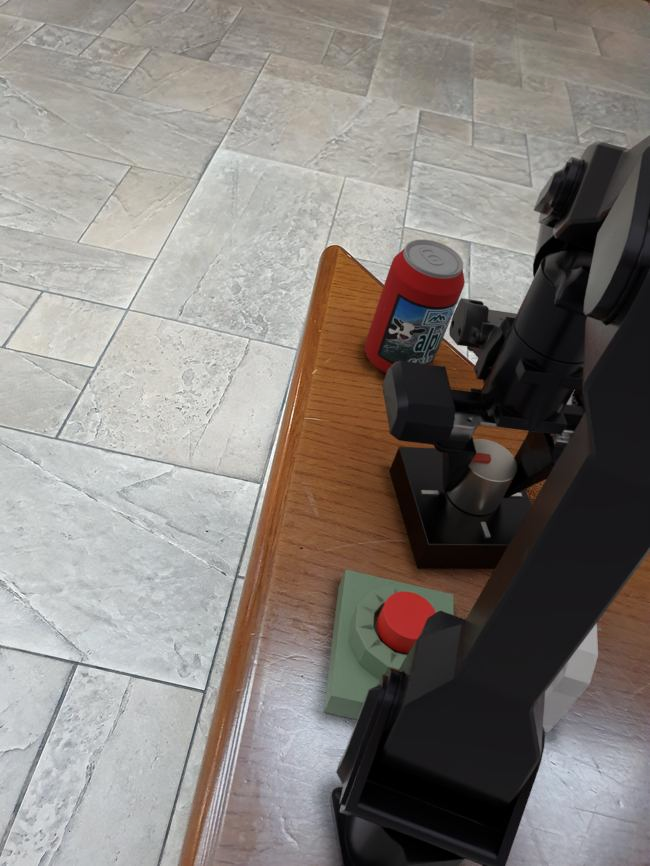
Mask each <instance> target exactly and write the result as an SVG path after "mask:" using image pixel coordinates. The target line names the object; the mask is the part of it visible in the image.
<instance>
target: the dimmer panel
mask: <svg viewBox="0 0 650 866" xmlns="http://www.w3.org/2000/svg"><path fill="white" fill-rule="evenodd" d="M388 472H389V476H390V479H391V481H392V483H391V484H392V486H393V490H394V493H395V497H396V499H397V503H398V507H399V510H400V514H401V518H402V522H403V524H404V528H405V531H406V534H407V539H408V542H409V547H410V549H411V552H412V556H413V560H414V563H415V566H416V569H495V568H496V566H497V564H498V563H499V561H500V559H501V557H502V556H503V554H504V552H505V550H506V549H507V547H508V545H509V543H510V542H511V540H512V538H513V537H514V535H515V533H516V531H517V530H518V528H519V526H520V524H521V523H522V521H523V519H524V517H525V516H526V514H527V512H528V511H529V509H530V507H531V505H532V504H533V502H532V501H531V499H530V497H529V494H528V492H527V488H526V489H524V490H522V491H520V492H518V493H516V494H514V495H512V496H510V497H508V498H502V500H501V502H500V504H499V506H498V507H497V509H496V510H495V511H494V512H492V513H490V514H487V515H474V514H470V513H467V512H465V511H463V510H461V509H460V508H458V507H457V506H456V505H455V504H454V503H453V502H452V501H451V500H450V498H449V497H448V494H447V492H446V491H444V487H443V453H441V452H439V451H437V450H436V449H435V447H415V446H414V447H413V446H399V447H398V448H397V450H396V453H395V455H394V458H393V460H392V463H391V466H390V468H389V470H388Z"/></svg>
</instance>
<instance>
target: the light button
mask: <svg viewBox="0 0 650 866" xmlns="http://www.w3.org/2000/svg"><path fill="white" fill-rule="evenodd" d="M435 613H436V612H435V610H434V608H433V607H432V605H431V604H430V603H429V602H428V601H427V600H426V599H425V598H423V597H422V596H420V595H418V594H415V593H412V592H398V593H395V594H393V595H391V596H390V597H389V598H388V599H387V600H386V602H385V604H384V606H383V608H382V610H381V612H380V614H379V616H378V619H377V631H378V634H379V636H380V638H381V639H382V640H383V642H384V643H385V644H386V645H387V646H389V647H390V648H391V649H393V650H395V651H398V652H401V653H409V651H410V650H411V648H412V647H413V645H414V643H415V642H416V640H417V639H418V637H419V635H420V633H421V631H422V629H423V627H424V625H425V623H426V621H427V619H428V618H429V617H430V616H432V615H433V614H435Z"/></svg>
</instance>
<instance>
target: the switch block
mask: <svg viewBox="0 0 650 866" xmlns="http://www.w3.org/2000/svg"><path fill="white" fill-rule="evenodd" d="M398 592H412V593H415V594H418V595H420V596H422V597H423V598H425V599H426V600H427V601H428V602H429V603H430V604H431V605H432V607H433V608H434V610H435V612H438V611H443V612H446V613H449V614H451V615H454V616H455V594H453V593H448V592H445V591H440V590H436V589H431V588H427V587H423V586H419V585H415V584H410V583H405V582H401V581H397V580H394V579H388V578H384V577H380V576H376V575H372V574H368V573H363V572H359V571H354V570H351V569H345V571H344V573H343V575H342V578H341V580H340V583H339V586H338V588H337V599H336V604H335V605H336V606H335V614H334V622H333V631H332V638H331V646H330V654H329V663H328V670H327V679H326V688H325V694H324V703H323V705H324V706H323V713H326V714H330V715H334V716H339V717H343V718H348V719H351V720H356V721H357V718H358V716H359V713H360V710H361V708H362V705H363V702H364V700H365V697H366V694H367V692H368V690H369V689H371V688H373V687H375V686H377V685H378V683H379V681H380V678H381V676H382V674H384V675H385V674H386V673H387V671H388V669H389V668H390V667H391V668H393V669H396V670H399V669H400V667H401V665H402V663H403V661H404V659H405V658H406V656H407V655H408V653H401V652H398V651H395V650H393V649H391V648H390V647H389V646H387V645H386V644H385V643H384V642H383V640H382V639H381V638H380V636H379V634H378V631H377V619H378V616H379V614H380V612H381V610H382V608H383V606H384V604H385V602H386V600H387V599H388V598H389V597H390V596H391V595H393V594H395V593H398Z"/></svg>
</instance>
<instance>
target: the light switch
mask: <svg viewBox="0 0 650 866" xmlns="http://www.w3.org/2000/svg"><path fill="white" fill-rule="evenodd" d="M598 644H599V643H598V622H597V623H596V625H595V626H594V627H593V629H592V630H591V631H590V633H589V634H588V635H587V637H586V638H585V639H584V641H583V642H582V643H581V645H580V646H579V647H578V649H577V650H576V651H575V653H574V654H573V655H572V657H571V658H570V659H569V661H568V662H567V663H566V665H565V666H564V667H563V669H562V670H561V671H560V673H559V674H558V675H557V677H556V678H555V679H554V681H553V682H552V683H551V685H550V686H549V687H548V689H547V690H546V691H545V702H544V717H543V727H544V731H545V733H547V734H549V733H550V732H551V731H552V729H553V728H554V727H555V726H556V724H557V723H558V722H559V721H560V720H561V719H562V717H563V716H564V715H565V714H566V713H567V711H569V710H570V708H571V707H572V706H573V705H574V703H575V702H576V701H577V700H578V699H579V698H580V697H581V695H582V694H583V693H584V692H585V690H586V689H587V688H588V687H589V686H590V684H591V681H592V678H593V676H594V675H593V674H594V671H595V668H596V664H597V661H598V657H599V645H598Z"/></svg>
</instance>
